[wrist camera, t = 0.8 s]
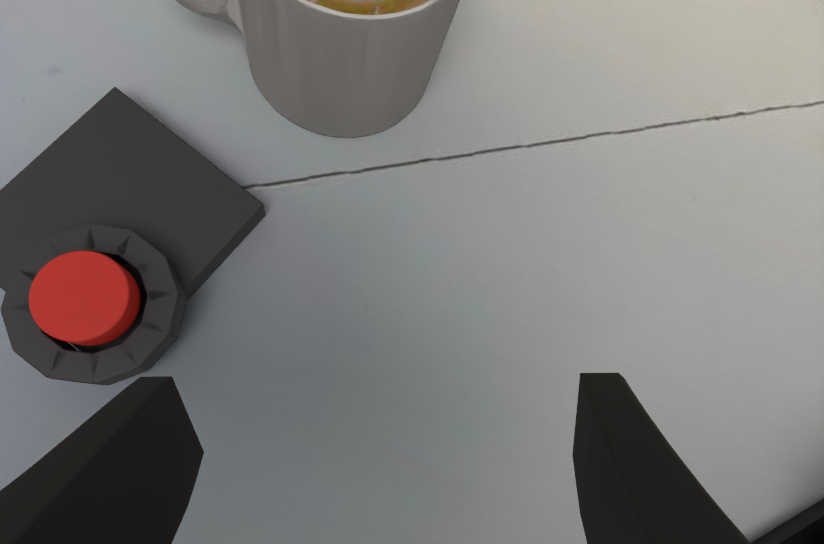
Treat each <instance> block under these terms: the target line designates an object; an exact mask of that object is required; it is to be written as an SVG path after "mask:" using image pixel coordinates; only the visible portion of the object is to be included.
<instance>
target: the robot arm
mask: <svg viewBox="0 0 824 544" xmlns="http://www.w3.org/2000/svg"><path fill="white" fill-rule="evenodd" d="M203 454H204V451H203V449H202V447H201V444H200V442H199V439H198V437H197V435H196V432H195V430H194V428H193V425H192V423H191V420H190V418H189V416H188V413H187V411H186V409H185V406H184V404H183V401H182V399H181V397H180V394H179V392H178V390H177V387H176V385H175V383H174V380H173V378H172V377H140V378H138V379H137V380H136V381H134V382H133V383H132V384H131V385H129V386H128V387H127V388H125V389H124V390H123V391H122V392H120V393H119V394H118V395H117V396H116V397H114V398H113V399H112V400H111V401H110V402H108V403H107V404H106V405H105V406H104V407H102V408H101V409H100V410H99V411H98V412H96V413H95V414H94V415H93V416H92V417H90V418H89V419H88V420H87V421H86V422H84V423H83V424H82V425H81V426H80V427H79V428H77V429H76V430H75V431H74V432H73V433H71V434H70V435H69V436H68V437H67V438H65V439H64V440H63V441H62V442H61V443H59V444H58V445H57V446H56V447H55V448H53V449H52V450H51V451H50V452H48V453H47V454H46V455H45V456H44V457H42V458H41V459H40V460H39V461H38V462H36V463H35V464H34V465H33V466H32V467H30V468H29V469H28V470H27V471H25V472H24V473H23V474H22V475H20V476H19V477H18V478H16V479H15V480H14V481H13V482H11V483H10V484H9V485H7V486H6V487H5V488H4V489H2V490H1V491H0V544H171V543H172V541H173V539H174V536H175V534H176V532H177V530H178V527H179V525H180V523H181V521H182V518H183V516H184V514H185V511H186V509H187V507H188V503H189V500H190V497H191V494H192V491H193V488H194V485H195V482H196V478H197V475H198V471H199V468H200V464H201V461H202V457H203ZM573 462H574V470H575V478H576V486H577V493H578V500H579V507H580V514H581V518H582V523H583V527H584V531H585V535H586V540H587V544H751V543H750V542H749V541H748V540H747V539H746V537H745V536H744V535H743V534H742V533H741V532H740V530H739V529H738V528H737V527H736V526H735V525H734V524H733V522H732V521H731V520H730V519H729V518H728V517H727V516H726V514H725V513H724V512H723V511H722V510H721V508H720V507H719V506H718V505H717V504H716V502H715V501H714V500H713V499H712V498H711V496H710V495H709V494H708V493H707V492H706V490H705V489H704V488H703V487H702V485H701V484H700V483H699V482H698V480H697V479H696V478H695V476H694V475H693V474H692V473H691V471H690V470H689V469H688V468H687V466H686V465H685V464H684V462H683V461H682V460H681V459H680V457H679V456H678V455H677V453H676V452H675V451H674V449H673V448H672V447H671V446H670V444H669V443H668V441H667V440H666V439H665V437H664V436H663V435H662V433H661V432H660V430H659V429H658V428H657V426H656V425H655V423H654V422H653V421H652V419H651V418H650V416H649V415H648V414H647V412H646V411H645V409H644V408H643V406H642V405H641V403H640V402H639V400H638V399H637V397H636V396H635V394H634V393H633V391H632V390H631V388H630V387H629V385H628V383H627V382H626V380H625V379H624V378H623V377H622V376H621V375H620V374H619V373H580V383H579V393H578V404H577V414H576V425H575V435H574V446H573Z"/></svg>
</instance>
